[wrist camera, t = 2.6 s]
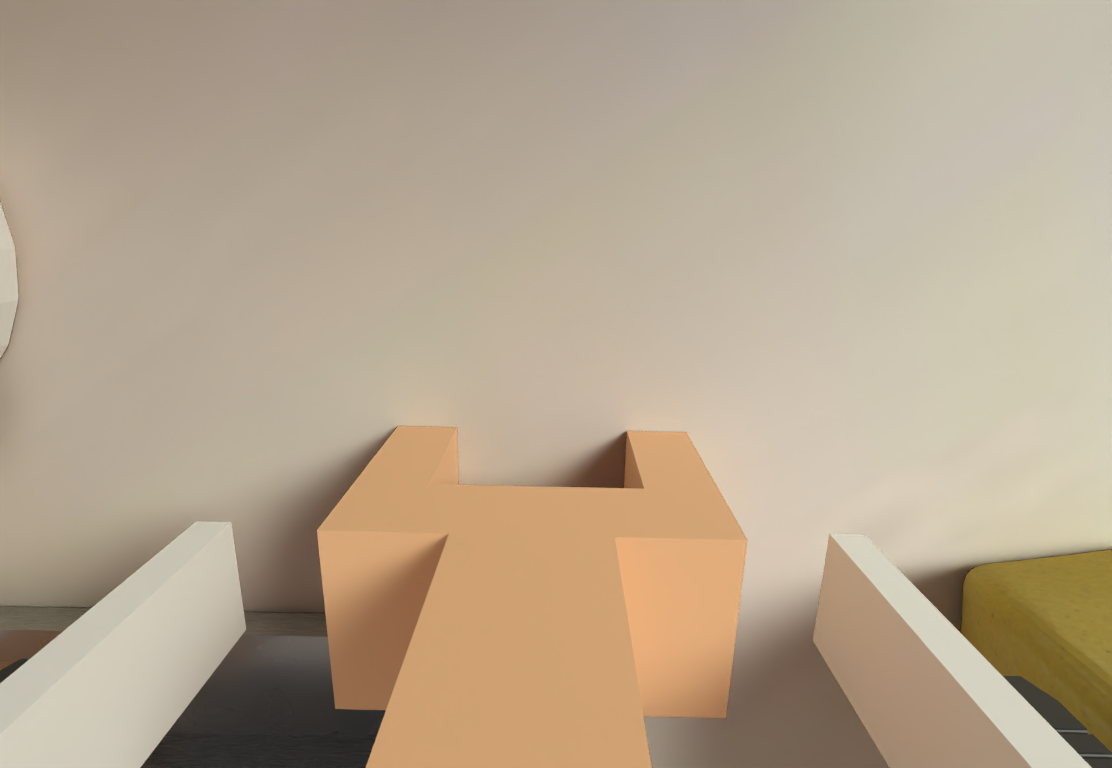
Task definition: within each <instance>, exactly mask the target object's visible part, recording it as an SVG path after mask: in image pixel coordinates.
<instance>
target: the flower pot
mask: <svg viewBox="0 0 1112 768" xmlns="http://www.w3.org/2000/svg"><path fill="white" fill-rule="evenodd" d="M962 601H963V603H962V625H961V634H962V635H963V636H964V637H965V638H966V639H967V640H968V641H969V642H970V643H971V644H972V645H973V646H974V647H975V648H976V649H977V650H978V651H979V652H980V653H981V655H982V656H983V657H984V658H985V659H986V660H987V661H988V662H989V663H990V664H991V665H992V666H993V667H994V668H995V669H996V670H997V671H998V672H999V673H1000V674H1001V675H1002V676H1021V677H1022V678H1024V679H1026V680H1027V681H1029V682H1030V683H1032V684H1033V685H1035V686H1036V687H1038V688H1039V689H1041V690H1042V691H1044V692H1046V693H1047V694H1049V695H1050V696H1052V697H1053V698H1055V699H1056V700H1058V701H1059V702H1060V703H1061V704H1062V705H1063V706H1064V707H1065V708H1066V709H1067V710H1068V711H1069V712H1070V713H1071V714H1072V715H1073V716H1074V717H1075V718H1076V719H1078V720H1079V721H1080V722H1081V723H1082V724H1083V725H1084V726H1085V727H1086V728H1087V732H1088V733H1089V734H1093V735H1094V736H1095V737H1096V738H1097V739H1098V740H1099V741H1100V742H1101V743H1102V744H1104V745H1105V746H1106V747H1107V748H1108V749H1109V750H1110V751H1111V752H1112V550H1105V551H1096V552H1088V553H1080V554H1072V555H1064V556H1056V557H1048V558H1038V559H1028V560H1021V561H1010V562H1002V563H991V564H984V565H980V566H978V567H975V568H974V569H972V570H970V572H969V573H968V574H967V576H966V578H965V581H964V584H963V600H962Z"/></svg>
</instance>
